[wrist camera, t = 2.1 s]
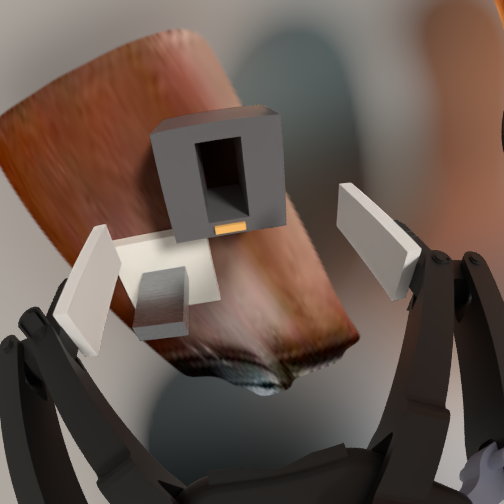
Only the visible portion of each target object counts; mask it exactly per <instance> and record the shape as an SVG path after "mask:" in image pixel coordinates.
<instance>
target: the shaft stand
mask: <svg viewBox="0 0 504 504" xmlns="http://www.w3.org/2000/svg"><path fill="white" fill-rule="evenodd" d="M113 244H114V246H115V249H116V251H117V254H118V256H119V258H120V261H121V263H122V264H121V267H120V271H119V274H118V275H119V277H120V279H121V281H122V283H123V285H124V287H125V289H126V291H127V293H128V295H129V297H130V299H131V301H132V303H133V305H134V307H135V309H136V310H135V315H134V321H133V327H132V328H133V330H134V332H135V333H136V335H137V336H138V338H139V340H140V341H143V340H152V339H161V338H169V337H178V336H185V335H189V305H192V304H199V303H205V302H211V301H218V300H221V298H220V290H219V286H218V281H217V277H216V273H215V268H214V264H213V259H212V255H211V250H210V245H209V241H208V238H205V239H199V240H193V241H188V242H182V243H176V240H175V236H174V233H173V229H169V230H164V231H159V232H154V233H148V234H143V235H138V236H133V237H128V238H123V239H118V240H113Z"/></svg>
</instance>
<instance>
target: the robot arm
mask: <svg viewBox="0 0 504 504" xmlns="http://www.w3.org/2000/svg"><path fill="white" fill-rule="evenodd" d="M502 146H503V151H504V112H503V119H502ZM337 227H338V228H339V229H340V231H341V232H342V233H343V234H344V236H345V237H346V238H347V240H348V241H349V242H350V243H351V245H352V246H353V247H354V249H355V250H356V251H357V253H358V254H359V255H360V257H361V258H362V259H363V261H364V262H365V264H366V265H367V266H368V268H369V269H370V270H371V272H372V273H373V274H374V276H375V277H376V279H377V280H378V281H379V283H380V284H381V286H382V287H383V289H384V290H385V291H386V293H387V294H388V296H389V297H390V299H391V300H392V301H396V300H399V299H403V298H405V297H406V295H407V292H408V289H409V288H410V289H411V291H412V292H413V296H412V298H411V301H410V303H409V306H408V308H407V310H408V311H409V315H408V321H407V327H406V331H405V336H404V340H403V345H402V349H401V354H400V358H399V362H398V366H397V369H396V373H395V377H394V380H393V384H392V387H391V391H390V394H389V397H388V400H387V403H386V406H385V409H384V412H383V415H382V418H381V421H380V424H379V426H378V428H377V430H376V432H375V434H374V436H373V437H372V439H371V441H370V443H369V445H368V448H367V449H363V448H345V445H344V443H342V444H339V445H336V446H333V447H330V448H326V449H323V450H320V451H316V452H312V453H310V454H308V455H307V456H305V457H303V458H301V459H299V460H297V461H295V462H293V463H291V464H289V465H287V466H284V467H282V468H279V469H259V468H258V469H257V468H243V467H239V468H231V469H222V470H212V471H207V475H208V476H207V477H204V478H201V479H199V480H197V481H195V482H194V483H192V484H190V485H189V486H188V487H186V486H185V485H184V484H182V482H180V481H179V480H178V479H177V478H176V477H174V476H173V475H171V474H170V473H169V472H168V471H166V470H165V469H164V468H163V467H162V466H161V465H160V464H159V463H158V462H157V461H156V460H155V459H154V458H153V456H152V455H151V454H150V453H149V452H148V451H147V450H146V449H145V448H144V447H143V445H142V444H141V443H140V442H139V441H138V440H137V438H136V437H135V436H134V435H133V434H132V433H131V431H130V430H129V429H128V428H127V427H126V425H125V424H124V423H123V421H122V420H121V419H120V418H119V417H118V415H117V414H116V413H115V411H114V410H113V408H112V407H111V406H110V405H109V403H108V402H107V400H106V399H105V397H104V396H103V394H102V393H101V392H100V390H99V389H98V387H97V386H96V384H95V383H94V381H93V380H92V378H91V377H90V375H89V373H88V372H87V370H86V369H85V367H84V366H83V364H82V362H81V361H80V359H79V358H78V357H77V352H78V349H79V350H80V351H81V353H82V354H83V355H84V356H85V357H87V356H99V351H100V346H101V341H102V337H103V332H104V328H105V323H106V318H107V315H108V311H109V307H110V303H111V299H112V295H113V292H114V288H115V284H116V281H117V277H118V274H119V271H120V267H121V264H122V263H121V261H120V258H119V256H118V254H117V251H116V249H115V246H114V244H113V241H112V239H111V236H110V234H109V231H108V229H107V226H106V224H104V225H100V226H95V227H94V228H93V230H92V232H91V234H90V235H89V237H88V239H87V241H86V243H85V245H84V247H83V249H82V251H81V253H80V255H79V257H78V259H77V261H76V263H75V265H74V267H73V269H72V271H71V273H70V275H69V278H66V279H65V280H64V281H63V282H62V283H61V284H60V286H59V287H58V290H57V292H56V295H55V296H54V298H53V302H52V303H51V306H50V308H49V310H48V313H47V315H46V316H45V315H44V314H43V312H42V311H41V309H40V308H39V307H32V308H30V309H28V310H26V311H25V312H24V313H23V315H22V316H21V318H20V320H19V322H18V324H19V325H18V327H19V328H20V329H21V331H22V332H23V333H24V334H25V336H26V337H27V339H25V340H22V341H19V340H18V339H17V337H16V336H15V335H9V336H7V337H6V338H5V339H4V340H3V341H2V342H1V344H0V420H1V429H2V436H3V442H4V448H5V454H6V458H7V464H8V468H9V473H10V476H11V481H12V484H13V488H14V491H15V495H16V498H17V501H18V504H88V503H87V500H86V498H85V496H84V494H83V491H82V489H81V487H80V484H79V482H78V479H77V477H76V475H75V472H74V469H73V467H72V463H71V461H70V458H69V455H68V452H67V449H66V445H65V442H64V439H63V436H62V432H61V429H60V425H59V421H58V417H57V413H56V409H55V405H56V407H57V409H58V411H59V413H60V415H61V417H62V419H63V421H64V423H65V425H66V426H67V428H68V430H69V432H70V433H71V435H72V437H73V439H74V440H75V442H76V444H77V445H78V447H79V449H80V450H81V452H82V453H83V455H84V457H85V458H86V460H87V461H88V463H89V464H90V465H91V467H92V468H93V470H94V471H95V472H96V474H97V476H98V480H97V482H96V483H97V486H98V488H99V490H100V491H101V492H102V494H103V495H104V497H105V498H106V499H107V500H108V502H109V503H110V504H499V503H500V502H501V501H502V500H504V302H503V299H502V297H501V294H500V292H499V289H498V287H497V285H496V282H495V280H494V278H493V276H492V273H491V271H490V269H489V267H488V265H487V263H486V261H485V260H484V258H483V257H482V256H481V255H479V254H477V253H475V252H466V253H465V254H464V256H463V259H462V260H452V259H451V258H450V257H449V256H448V255H447V254H445V253H444V252H441V251H438V250H432V251H431V250H430V249H429V248H428V247H427V246H426V245H425V244H424V243H423V242H422V241H421V240H420V239H419V238H418V237H417V236H416V235H415V234H414V233H413V232H411V230H410V229H409V228H408V227H407V226H406V225H405V224H403V223H401V222H399V221H398V220H392V219H391V218H390V217H389V216H388V215H387V214H386V213H385V212H384V211H383V210H381V209H380V208H379V207H378V206H377V205H376V204H375V203H374V202H373V201H371V200H370V199H369V198H368V197H367V196H366V195H365V194H364V193H362V192H361V191H360V190H359V189H358V188H357V187H355V186H354V185H353V184H352V183H345V184H339V199H338V213H337ZM453 332H454V337H455V342H456V347H457V354H458V360H459V367H460V375H461V384H462V394H463V406H464V431H465V432H464V433H465V447H466V455H467V460H468V461H467V463H466V465H465V467H464V468H463V469H462V471H461V472H460V480H461V481H462V482H463V485H462V488H461V490H460V491H457V490H454V489H452V488H450V487H447V486H445V485H442V484H440V483H438V482H435V481H434V478H435V475H436V472H437V469H438V465H439V462H440V459H441V455H442V451H443V448H444V444H445V440H446V436H447V431H448V427H449V422H450V411H449V410H448V409H446V407H445V402H446V397H447V391H448V384H449V377H450V368H451V359H452V348H453ZM54 403H55V404H54Z"/></svg>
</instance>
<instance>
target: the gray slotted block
mask: <svg viewBox="0 0 504 504" xmlns="http://www.w3.org/2000/svg"><path fill="white" fill-rule="evenodd" d="M232 137H234V145H235V154H236V162H237V170H238V178H239V184H234V185H227V186H221V187H215V188H209V189H207V185H206V179H205V173H204V168H203V162H202V156H201V150H200V142H206V141H212V140H219V139H225V138H232ZM150 139H151V143H152V148H153V153H154V157H155V162H156V166H157V170H158V175H159V179H160V183H161V187H162V191H163V195H164V199H165V203H166V207H167V211H168V214H169V218H170V222H171V226H172V229H173V233H174V236H175V240H176V243H182V242H188V241H193V240H199V239H205V238H211V237H217V236H223V235H229V234H235V233H241V232H247V231H253V230H259V229H265V228H272V227H278V226H284V225H286V199H285V177H284V157H283V141H282V124H281V114H279V113H278V112H276V111H274V110H272V109H270V108H268V107H265V106H264V105H252V106H242V107H234V108H226V109H219V110H212V111H206V112H200V113H194V114H189V115H184V116H179V117H174V118H169V119H164V120H163V121H162V122H161V123H160V124H159V125H158V126H157V127H156V128H155V129H154V130H153V131H152V132H151V134H150Z"/></svg>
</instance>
